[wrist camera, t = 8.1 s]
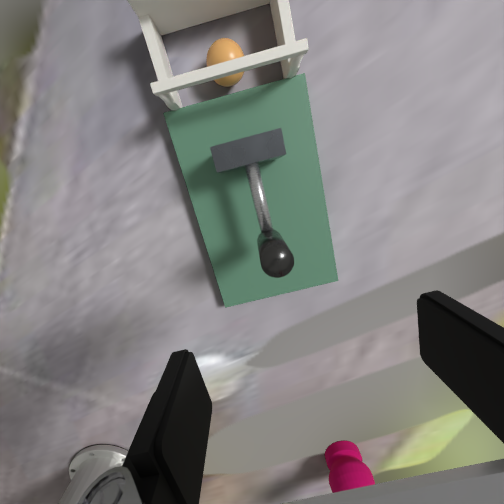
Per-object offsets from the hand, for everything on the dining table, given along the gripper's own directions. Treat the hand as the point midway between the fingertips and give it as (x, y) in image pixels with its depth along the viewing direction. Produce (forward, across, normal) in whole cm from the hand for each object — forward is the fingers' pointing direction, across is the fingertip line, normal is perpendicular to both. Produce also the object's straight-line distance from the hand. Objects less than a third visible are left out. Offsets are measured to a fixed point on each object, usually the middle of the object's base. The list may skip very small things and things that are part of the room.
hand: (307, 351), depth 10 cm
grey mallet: (+22, 0, -5) cm, 22 cm away
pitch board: (+24, 0, -4) cm, 24 cm away
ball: (+22, 0, -19) cm, 29 cm away
